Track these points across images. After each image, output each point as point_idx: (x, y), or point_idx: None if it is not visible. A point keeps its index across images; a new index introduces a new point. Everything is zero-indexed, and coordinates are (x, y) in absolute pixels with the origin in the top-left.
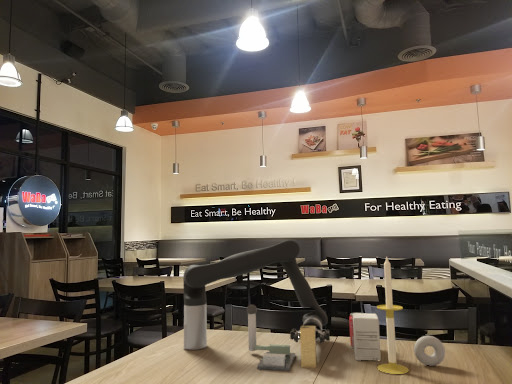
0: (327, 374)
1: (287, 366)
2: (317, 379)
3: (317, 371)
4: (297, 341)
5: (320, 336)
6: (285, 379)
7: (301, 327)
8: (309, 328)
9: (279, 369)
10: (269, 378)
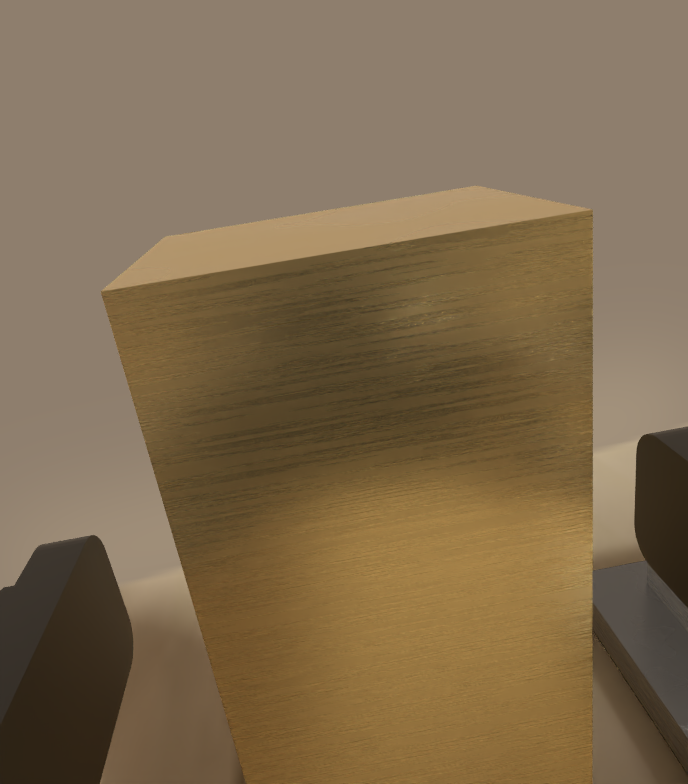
0: (167, 655)
1: (623, 599)
2: None
3: None
4: (644, 540)
5: (60, 560)
6: None
7: (476, 194)
8: (277, 218)
9: None
10: (618, 457)
